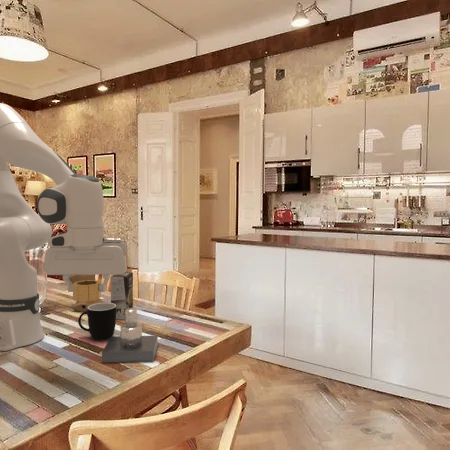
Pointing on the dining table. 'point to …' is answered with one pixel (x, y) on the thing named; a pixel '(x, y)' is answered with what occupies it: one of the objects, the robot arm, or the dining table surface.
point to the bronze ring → (86, 290)
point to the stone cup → (83, 304)
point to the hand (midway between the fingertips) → (87, 291)
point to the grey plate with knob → (130, 343)
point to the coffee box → (122, 293)
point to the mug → (100, 320)
